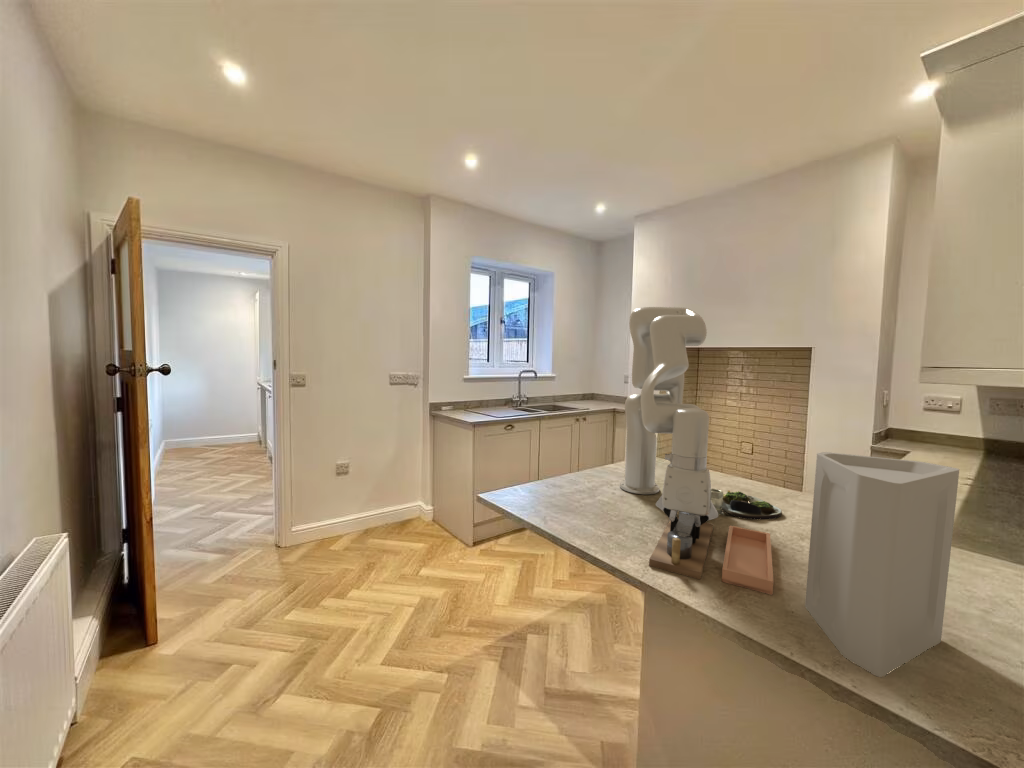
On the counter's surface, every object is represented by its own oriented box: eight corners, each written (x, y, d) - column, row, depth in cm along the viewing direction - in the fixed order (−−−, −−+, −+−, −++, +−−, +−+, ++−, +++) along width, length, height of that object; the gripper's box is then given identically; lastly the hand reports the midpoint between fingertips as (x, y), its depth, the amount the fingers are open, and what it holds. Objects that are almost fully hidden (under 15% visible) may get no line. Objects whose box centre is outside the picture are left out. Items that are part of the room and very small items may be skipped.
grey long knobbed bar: (680, 521, 108) (681, 506, 107) (701, 526, 105) (702, 510, 105) (664, 555, 90) (665, 537, 89) (689, 561, 87) (690, 543, 87)
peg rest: (671, 520, 112) (673, 497, 111) (713, 529, 107) (714, 505, 106) (649, 565, 88) (650, 536, 88) (700, 579, 83) (702, 548, 83)
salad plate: (692, 496, 132) (693, 482, 132) (745, 495, 134) (746, 481, 134) (730, 521, 113) (731, 505, 113) (791, 520, 115) (792, 504, 114)
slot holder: (728, 535, 104) (729, 525, 103) (769, 543, 99) (770, 533, 99) (721, 581, 83) (722, 569, 82) (772, 595, 78) (773, 581, 78)
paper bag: (838, 591, 80) (850, 448, 78) (943, 640, 67) (961, 469, 64) (775, 616, 72) (786, 457, 69) (880, 678, 58) (899, 484, 56)
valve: (708, 507, 122) (682, 515, 116) (709, 486, 122) (683, 492, 115) (729, 515, 117) (703, 524, 110) (731, 492, 116) (705, 500, 110)
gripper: (648, 460, 97) (644, 536, 98) (727, 471, 88) (722, 554, 90) (654, 453, 103) (651, 525, 105) (729, 463, 95) (725, 541, 96)
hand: (684, 537), depth 97 cm, fingers closed on grey long knobbed bar, 3 cm apart
